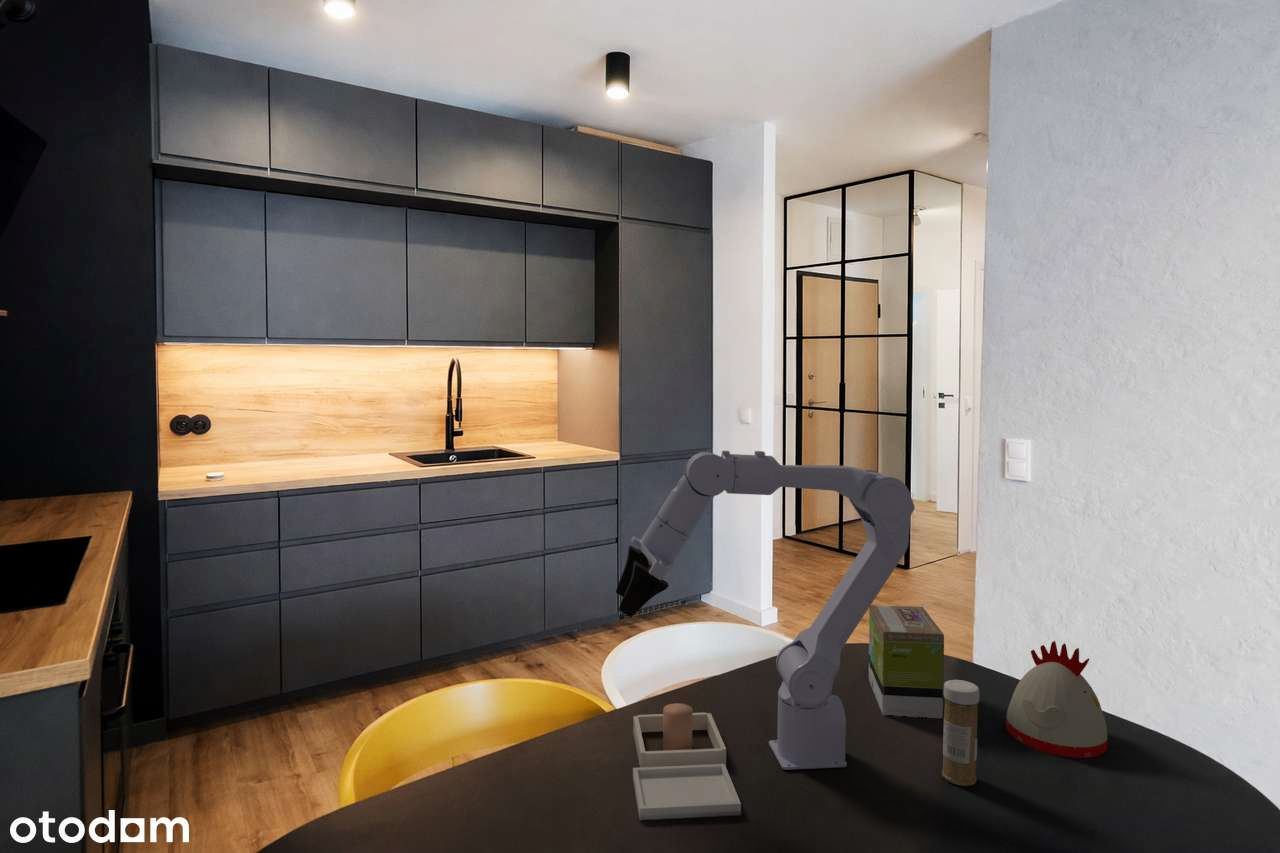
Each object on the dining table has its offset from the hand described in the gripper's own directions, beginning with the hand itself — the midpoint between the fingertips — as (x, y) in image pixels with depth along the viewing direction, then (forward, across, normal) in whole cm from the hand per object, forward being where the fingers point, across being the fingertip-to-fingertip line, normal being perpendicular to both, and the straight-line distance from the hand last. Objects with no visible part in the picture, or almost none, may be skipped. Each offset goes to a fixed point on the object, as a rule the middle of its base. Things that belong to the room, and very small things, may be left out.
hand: (623, 604), depth 108 cm
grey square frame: (+15, -1, +19) cm, 25 cm away
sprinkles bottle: (-5, +10, +52) cm, 53 cm away
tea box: (-6, -16, +55) cm, 58 cm away
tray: (+15, +12, +18) cm, 26 cm away
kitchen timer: (-16, -1, +70) cm, 72 cm away
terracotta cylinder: (+15, -1, +19) cm, 25 cm away
